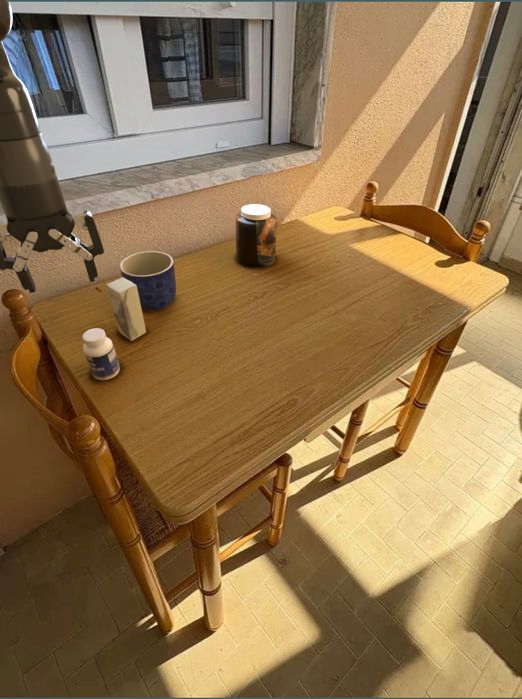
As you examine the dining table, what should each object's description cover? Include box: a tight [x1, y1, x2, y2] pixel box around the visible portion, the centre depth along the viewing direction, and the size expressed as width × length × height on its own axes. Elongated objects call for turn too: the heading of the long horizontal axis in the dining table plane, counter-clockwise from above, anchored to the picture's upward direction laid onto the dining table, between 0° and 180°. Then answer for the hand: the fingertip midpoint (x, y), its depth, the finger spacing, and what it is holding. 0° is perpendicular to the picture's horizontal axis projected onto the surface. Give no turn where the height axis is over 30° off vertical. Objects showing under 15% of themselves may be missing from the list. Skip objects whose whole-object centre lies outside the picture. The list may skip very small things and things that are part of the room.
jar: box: [235, 203, 277, 269], centre depth 111 cm, size 12×12×15 cm
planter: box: [119, 250, 177, 312], centre depth 94 cm, size 12×12×11 cm
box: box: [106, 276, 147, 342], centre depth 83 cm, size 5×4×13 cm
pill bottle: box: [82, 327, 121, 381], centre depth 74 cm, size 5×5×10 cm
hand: (63, 284), depth 59 cm, fingers open, 8 cm apart
